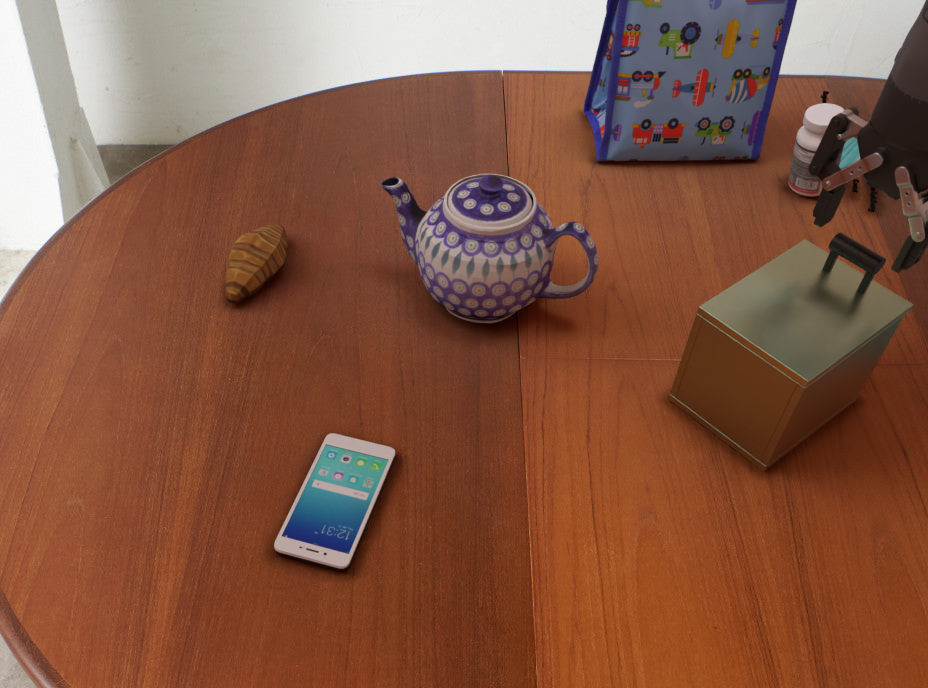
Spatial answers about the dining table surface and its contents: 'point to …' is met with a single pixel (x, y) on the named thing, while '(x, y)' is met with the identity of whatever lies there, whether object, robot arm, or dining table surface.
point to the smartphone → (335, 502)
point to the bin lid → (808, 307)
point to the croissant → (254, 261)
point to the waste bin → (764, 392)
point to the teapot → (486, 246)
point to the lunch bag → (686, 78)
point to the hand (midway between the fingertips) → (859, 244)
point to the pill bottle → (810, 148)
